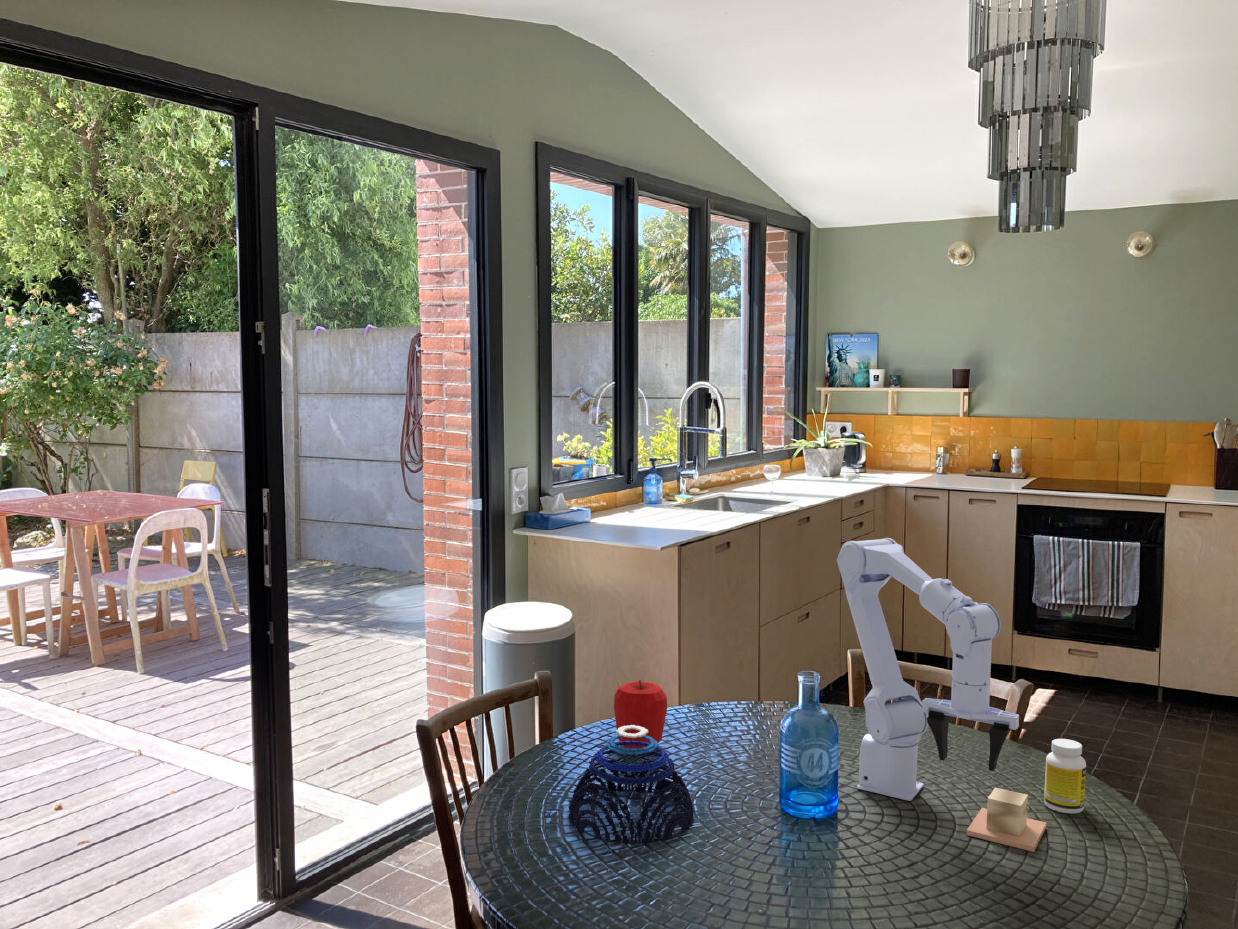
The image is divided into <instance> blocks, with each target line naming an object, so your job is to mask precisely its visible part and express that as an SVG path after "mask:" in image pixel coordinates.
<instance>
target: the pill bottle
mask: <svg viewBox="0 0 1238 929" xmlns="http://www.w3.org/2000/svg"><path fill="white" fill-rule="evenodd" d="M1082 753H1083V745H1082V744H1081V743H1080V742H1078V741H1076V740H1073V739H1066V738H1055V739H1053V740H1051V752H1049V753H1048V754H1047V755H1046V758H1045V769H1044V770H1045V775H1044V790H1043V791H1044V793H1043V794H1044V796H1043V802H1044V804H1045V806H1046V807H1047V808H1049V809H1050V810H1052V811H1054V812H1058V813H1061V814H1062V813H1063V814H1069V815H1070V814H1071V815H1072V814H1074V815H1077V814H1080V813H1082V812H1083V811H1084V809H1085V797H1086V795H1085V794H1086V779H1087V763H1086V760H1085V758H1084V757H1082V756H1081V755H1082Z"/></svg>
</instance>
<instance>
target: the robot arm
mask: <svg viewBox="0 0 1238 929" xmlns="http://www.w3.org/2000/svg"><path fill="white" fill-rule="evenodd" d="M836 563H837V566H838V570H839V573H840V575H841V580H842V584H843V586H844V592H845V596H846V599H847V603H848V606H849V610H850V613H851V617H852V620H853V623H854V624H853V625H854V627H855V630H856V634H857V637H858V640H859V644H860V648H861V652H862V656H863V658H864V661H865V665H866V668H867V672H868V677H869V680H870V682H871V685H872V688H871V690H870V691H869V692H868V694H867V695H866V696H865V698H864V700H863V705H864V709H865V725H866V729H867V731H868V733H865V735H864V736H863V738H862V739H861V742H860V748H859V761H858V762H859V764H858V766H859V768H858V784H857V786H856V787H857V789H858V790H862V791H867V792H870V793H876V794H879V795H883V796H886V797H887V796H888V797H892V798H895V799H900V800H904V801H909V802H910V801H912V800H913V799H914V798H915V796H916V795H918V793H920V791H921V790H922V788H923V787H924V783H923V782H920V781H917V776H918V775H917V774H918V773H917V771H918V749H919V748H918V746H919V745H918V744H919V741H921V740H922V734H924V733H925V732H926V731H927V730H928V727H929V728H930V731H931V733H932V734H933V738H934V739H935V740H934V741H935V743H936V748H937V752H938V758H939V759H938V760H939V761H945V760H946V759H947V757H948V749H949V748H948V747H949V746H948V745H949V744H948V736H949V734H948V733H949V725H950V724H949V723H950V717H955V718H957V719H959V718H960V719H965V720H969V721H974V722H980V723H984V724H991V725H992V726H991V727H990V728H989V730H988V735H989V758H988V771H990V772H994V771H995V770H996V768H997V766H998V765H997V764H998V760H999V756H1000V753H1001V750H1002V748H1003V745H1004V743H1005V741H1006V740H1007V737H1008V735H1009V734H1010V732H1011V730H1014V731H1016V730H1017V729H1018V728H1019V726H1020V722H1019V721H1020V714H1018V713H1012V712H1010V711H1005V710H1002V709H1000V708H996V707H992V706H990V693H991V692H990V689H991V672H992V671H991V669H992V667H991V666H992V648H993V647H992V645H993V644H992V641H993V640H994V639H996V638H997V637H998V636H999V634H1000V632H1001V628H1002V624H1001V618H1000V616H999V613H998V612H997V610H996V609H995V608H994V607H993V606H992V605H991V604H990V603H986V602H981V603H978V602H976V601H973V598H971V597H970V596H969V595H966V594H964V593H962V591H960V590H958V589H957V588H956V587H955V586H954V585H953V581H951V580H950V579H948V578H932V577H931V576H930V575H928V573H927V572H925V571H924V570H923V569H922V568H921V567H920V566H919V565H918V564H916V562H914V561H913V560H912V559H910V558H909V557H908V555H906V554H905V551H904V547H903V545H901V544H899V543H897V542H896V540H894V539H893V538H890V537H884V538H880V539H879V538H878V539H867V540H856V541H854V540H848V541H846V542H845V543H844V544H842V546H841V548H840V550H839V553H838V556H837V558H836ZM891 578H894V579H895V580H896V581H898V582H899V583H901V585H902V584H903V585H904V586H906V588H908V589H910V590H911V591H912V592H914V593H915V594H916V595H919V597H918V598H919V603H920V605H921V606H922V607H923V608H924V609H925V610H926V611H927V612H929V613H930V614H931V615H933V616H934V618H936V619H937V620H938V621H940V623H943V625H945V630H946V633H947V636H948V637H949V640H950V649H951V652H952V671H951V674H952V675H951V694H950V696H951V698H950V699H938V698H930V697H925V698H924V699H922V700H921V698H920V696H919V692H918V690H917V689H916V688H915V687H913V686H912V685H911V684H909V683H907V682H906V681H904V679H903V675H902V672H901V669H900V665H899V663H898V658H897V655H896V652H895V649H894V645H893V641H892V638H891V635H890V632H889V628H888V624H887V622H886V618H885V615H884V612H883V608H882V605H881V601H880V598H879V593H880V591H881V589H882V588H883V587H884V586H885V585H886V584H887V583H888V581H889V580H890V579H891ZM889 701H891V702H889Z"/></svg>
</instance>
